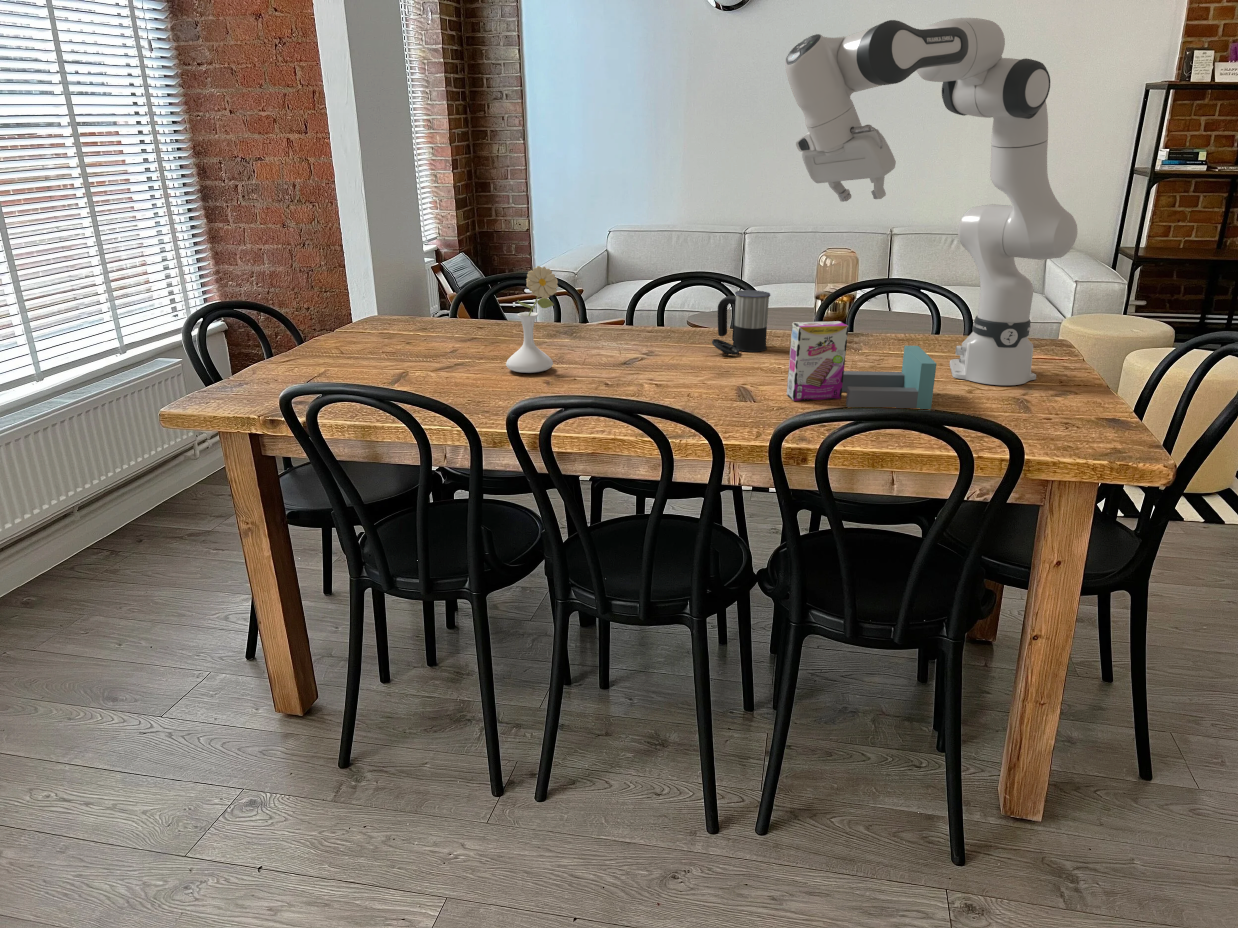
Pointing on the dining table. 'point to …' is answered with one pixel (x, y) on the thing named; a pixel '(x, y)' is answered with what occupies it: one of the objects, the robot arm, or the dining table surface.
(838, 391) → the candy bar box
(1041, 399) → the dining table surface
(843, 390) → the grey and teal stand
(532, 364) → the flower in vase
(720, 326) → the milk frother
